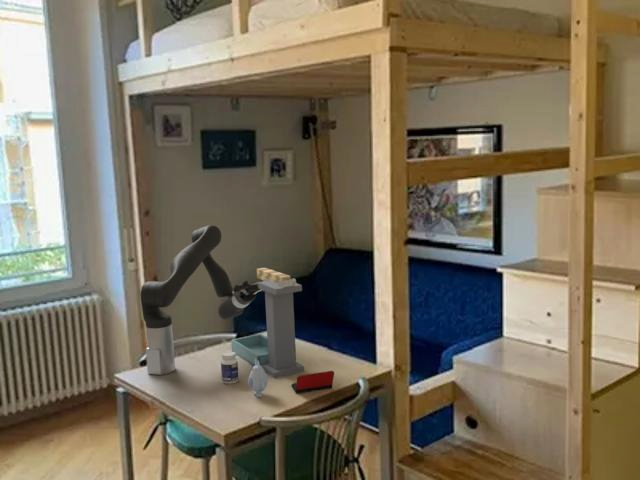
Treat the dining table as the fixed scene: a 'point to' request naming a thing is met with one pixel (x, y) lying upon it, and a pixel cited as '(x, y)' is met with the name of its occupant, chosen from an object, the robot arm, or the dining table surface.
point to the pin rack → (280, 327)
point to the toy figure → (258, 379)
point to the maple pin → (271, 275)
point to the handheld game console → (313, 382)
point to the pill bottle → (229, 368)
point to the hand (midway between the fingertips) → (257, 281)
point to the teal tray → (252, 349)
